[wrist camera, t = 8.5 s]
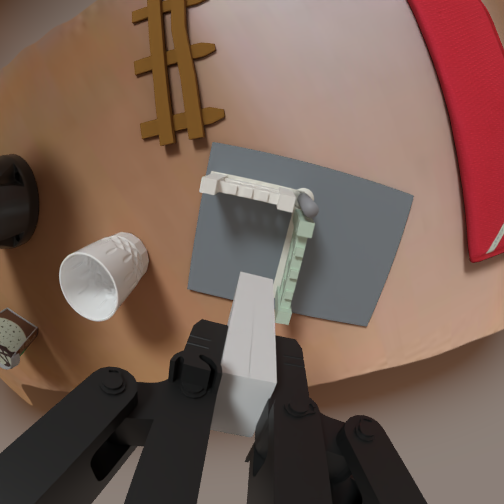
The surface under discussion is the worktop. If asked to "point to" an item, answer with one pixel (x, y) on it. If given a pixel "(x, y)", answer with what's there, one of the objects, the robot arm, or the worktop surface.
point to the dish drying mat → (471, 109)
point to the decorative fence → (184, 57)
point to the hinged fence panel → (295, 256)
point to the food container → (14, 337)
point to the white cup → (103, 275)
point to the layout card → (281, 229)
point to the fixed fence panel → (248, 191)
